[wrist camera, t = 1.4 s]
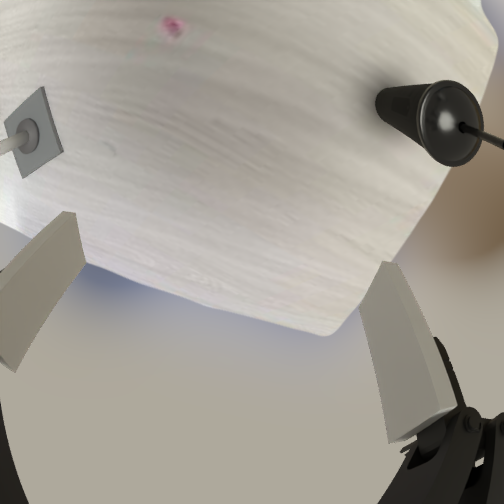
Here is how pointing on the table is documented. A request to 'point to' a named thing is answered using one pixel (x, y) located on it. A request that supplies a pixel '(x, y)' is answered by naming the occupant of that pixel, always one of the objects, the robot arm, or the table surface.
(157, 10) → the table surface
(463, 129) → the drinking cup
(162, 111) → the table surface
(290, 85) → the table surface
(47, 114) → the grey peg stand
